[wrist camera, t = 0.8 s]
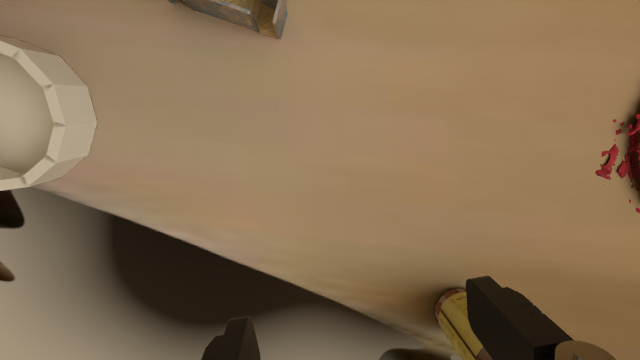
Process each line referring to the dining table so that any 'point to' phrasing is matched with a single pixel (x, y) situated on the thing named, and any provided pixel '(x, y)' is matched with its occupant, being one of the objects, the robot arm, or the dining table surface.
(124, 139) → the dining table surface
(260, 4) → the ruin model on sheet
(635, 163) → the plate with food
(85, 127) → the bowl
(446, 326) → the sauce bottle
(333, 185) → the dining table surface
